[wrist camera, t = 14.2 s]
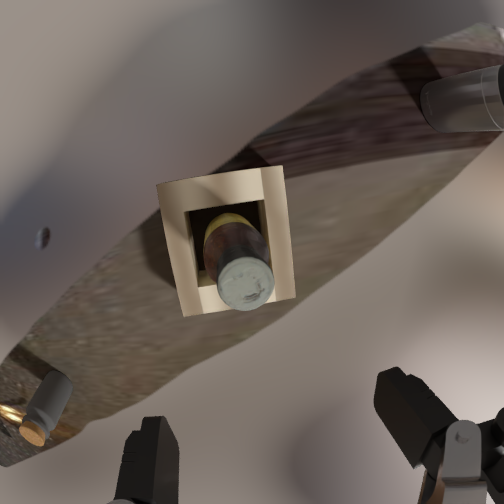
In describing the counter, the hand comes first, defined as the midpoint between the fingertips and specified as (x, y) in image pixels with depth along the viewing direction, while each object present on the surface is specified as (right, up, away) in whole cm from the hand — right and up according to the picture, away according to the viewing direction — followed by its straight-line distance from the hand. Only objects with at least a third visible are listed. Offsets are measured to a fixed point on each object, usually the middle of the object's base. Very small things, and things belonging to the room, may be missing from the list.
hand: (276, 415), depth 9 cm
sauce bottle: (-4, +8, +30) cm, 31 cm away
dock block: (-4, +8, +30) cm, 31 cm away
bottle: (-37, -18, +33) cm, 53 cm away
